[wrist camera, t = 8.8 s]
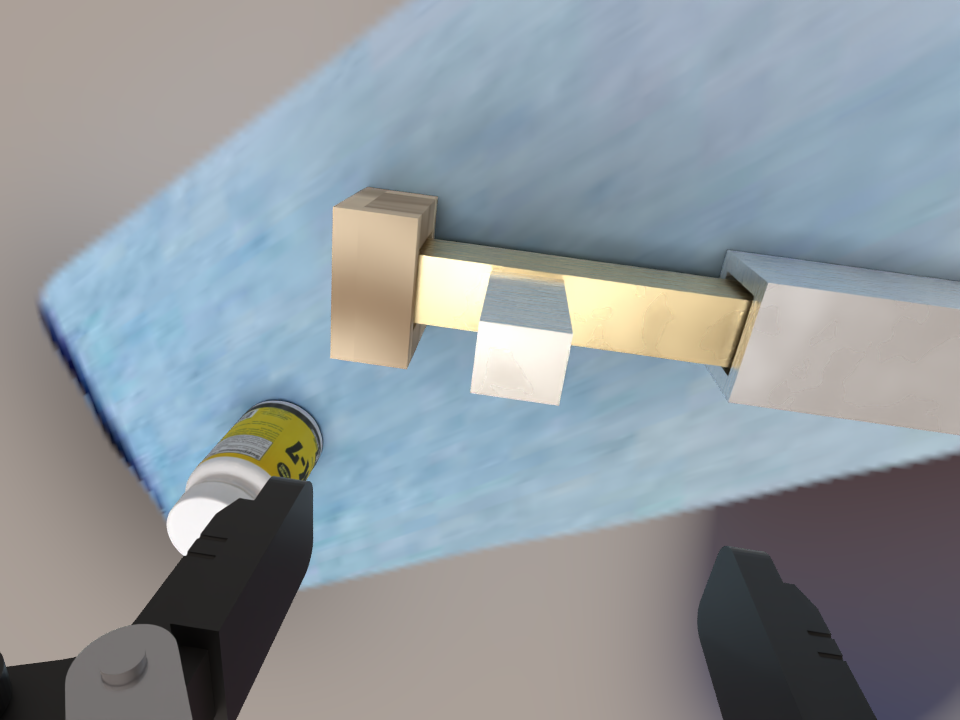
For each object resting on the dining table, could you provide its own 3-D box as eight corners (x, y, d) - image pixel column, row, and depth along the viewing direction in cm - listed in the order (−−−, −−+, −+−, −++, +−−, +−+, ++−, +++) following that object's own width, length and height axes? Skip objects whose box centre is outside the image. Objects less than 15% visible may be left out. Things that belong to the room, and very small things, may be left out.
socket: (367, 186, 27) (332, 206, 23) (438, 196, 27) (418, 218, 23) (361, 316, 30) (330, 358, 25) (426, 325, 30) (406, 369, 25)
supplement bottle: (324, 475, 34) (266, 585, 27) (244, 464, 35) (163, 571, 27) (324, 403, 32) (260, 499, 25) (239, 392, 33) (149, 484, 25)
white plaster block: (727, 249, 27) (768, 282, 23) (964, 282, 27) (1055, 322, 22) (696, 352, 30) (728, 402, 25) (915, 383, 29) (990, 439, 25)
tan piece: (386, 232, 27) (324, 293, 19) (782, 286, 27) (893, 373, 19) (383, 294, 28) (323, 377, 20) (761, 347, 28) (856, 453, 20)
